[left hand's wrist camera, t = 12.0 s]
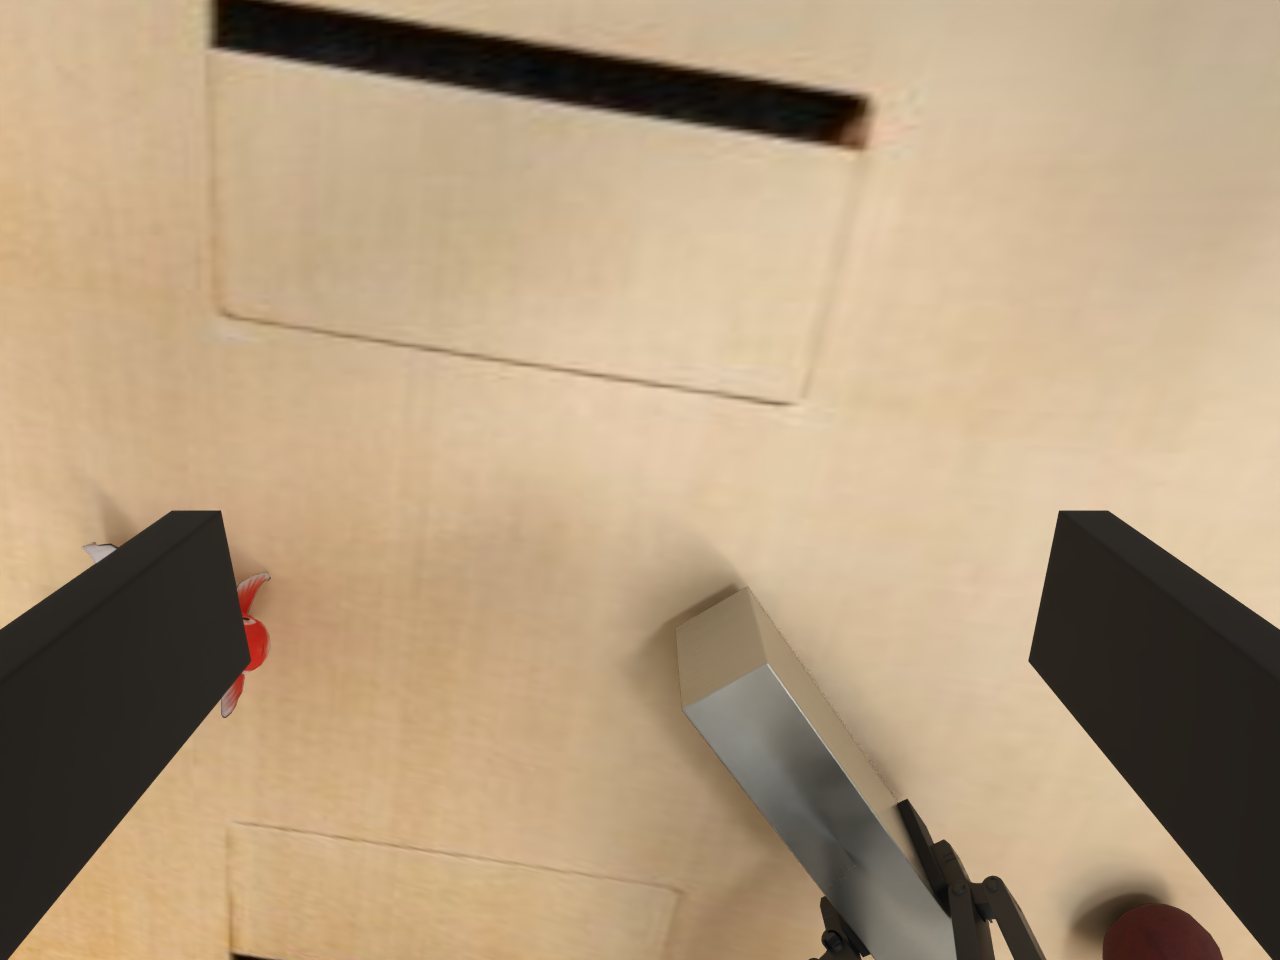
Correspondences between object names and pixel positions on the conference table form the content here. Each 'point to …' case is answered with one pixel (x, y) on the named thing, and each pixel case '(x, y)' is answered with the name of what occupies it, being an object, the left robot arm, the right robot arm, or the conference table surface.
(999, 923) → the right robot arm
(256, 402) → the conference table surface
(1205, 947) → the dark maroon ball
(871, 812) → the bar
